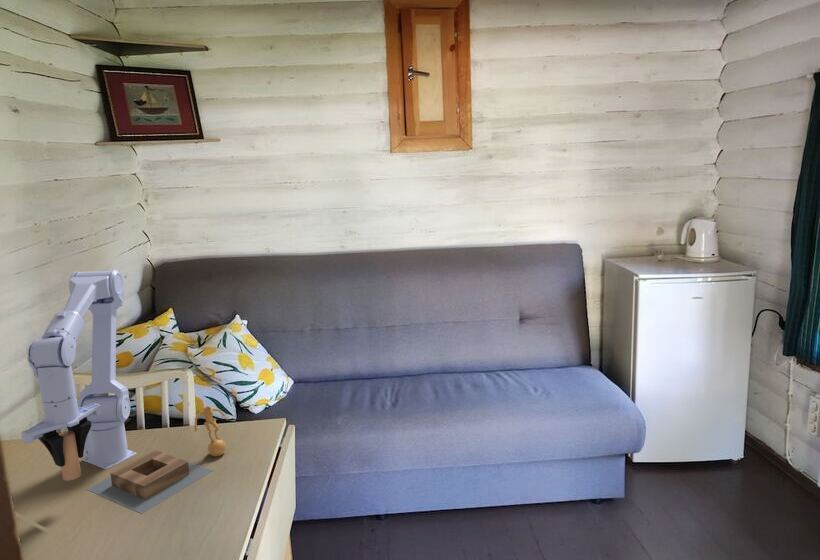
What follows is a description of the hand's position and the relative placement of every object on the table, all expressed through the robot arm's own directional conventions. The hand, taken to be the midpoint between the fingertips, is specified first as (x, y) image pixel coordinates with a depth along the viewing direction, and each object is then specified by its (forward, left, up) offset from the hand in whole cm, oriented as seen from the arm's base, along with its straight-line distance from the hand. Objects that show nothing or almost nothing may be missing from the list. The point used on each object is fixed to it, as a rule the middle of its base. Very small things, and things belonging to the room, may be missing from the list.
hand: (69, 460), depth 119 cm
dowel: (0, 0, -3) cm, 3 cm away
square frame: (+6, +13, -9) cm, 17 cm away
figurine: (+9, +28, -10) cm, 31 cm away
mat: (+6, +13, -10) cm, 17 cm away
